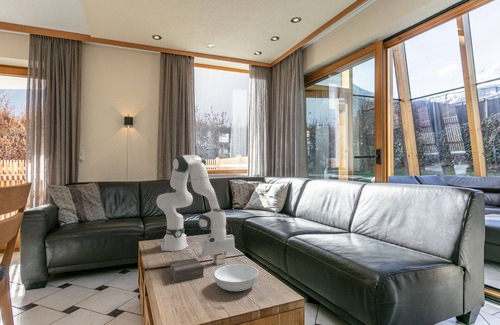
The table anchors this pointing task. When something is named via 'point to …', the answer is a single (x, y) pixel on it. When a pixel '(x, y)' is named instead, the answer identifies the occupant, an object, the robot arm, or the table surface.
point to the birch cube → (219, 258)
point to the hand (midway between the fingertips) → (218, 260)
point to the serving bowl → (236, 277)
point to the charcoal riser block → (186, 270)
